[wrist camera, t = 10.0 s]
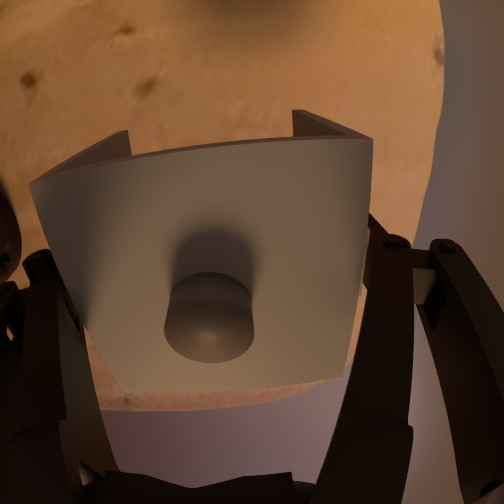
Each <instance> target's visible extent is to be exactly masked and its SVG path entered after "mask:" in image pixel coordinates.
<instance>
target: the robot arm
mask: <svg viewBox="0 0 504 504" xmlns="http://www.w3.org/2000/svg"><path fill="white" fill-rule="evenodd" d="M20 258H21V238H20V232H19V228H18V225H17V222H16V219H15V217H14V214H13V212H12V210H11V208H10V206H9V204H8V203H7V201H6V200H5V198H4V197H3V195H2V194H1V193H0V504H16V503H17V504H401V501H402V497H403V493H404V488H405V484H406V479H407V473H408V468H409V462H410V457H411V451H412V444H413V428H412V426H410V425H408V414H409V404H410V394H411V382H412V369H413V350H414V304H416V307H417V309H418V312H419V315H420V318H421V321H422V324H423V327H424V330H425V333H426V336H427V339H428V343H429V346H430V349H431V353H432V356H433V360H434V363H435V367H436V370H437V374H438V378H439V382H440V386H441V389H442V393H443V398H444V402H445V406H446V411H447V415H448V420H449V425H450V430H451V435H452V441H453V447H454V453H455V459H456V466H457V473H458V479H459V485H460V490H461V494H462V497H463V501H464V504H504V312H503V311H502V309H501V307H500V305H499V304H498V302H497V300H496V299H495V297H494V295H493V294H492V292H491V290H490V289H489V287H488V286H487V284H486V283H485V281H484V280H483V278H482V276H481V275H480V273H479V272H478V270H477V269H476V267H475V266H474V264H473V263H472V261H471V260H470V258H469V257H468V256H467V254H466V253H465V251H464V250H463V248H462V247H461V246H460V245H458V244H457V243H455V242H454V241H452V240H449V239H435V240H433V241H432V242H431V244H430V249H429V250H420V249H412V248H411V244H410V242H409V241H408V240H407V239H405V238H403V237H401V236H398V235H394V234H388V233H387V231H386V230H385V229H384V228H383V227H382V226H381V225H380V224H379V223H378V222H377V220H375V218H374V217H373V216H372V215H371V214H370V213H369V216H368V226H367V236H366V245H365V253H364V261H363V268H362V275H361V282H360V288H359V295H358V296H361V293H362V287H363V283H364V285H365V287H366V289H367V295H366V301H365V306H364V311H363V317H362V322H361V327H360V332H359V337H358V341H357V346H356V350H355V355H354V359H353V364H352V368H351V372H350V376H349V380H348V384H347V387H346V391H345V395H344V399H343V402H342V406H341V409H340V413H339V416H338V419H337V423H336V426H335V429H334V433H333V436H332V439H331V442H330V445H329V448H328V451H327V454H326V457H325V460H324V463H323V465H322V468H321V471H320V474H319V476H318V479H317V482H316V484H313V483H307V482H300V481H293V479H292V473H291V472H285V473H277V474H269V475H268V474H267V475H256V476H242V477H239V478H235V479H232V480H228V481H224V482H220V483H216V484H212V485H207V486H203V487H199V488H187V487H184V486H180V485H176V484H173V483H169V482H166V481H163V480H160V479H156V478H153V477H150V476H148V475H143V474H132V473H125V472H121V471H120V470H119V468H118V466H117V464H116V462H115V459H114V456H113V453H112V450H111V447H110V443H109V440H108V437H107V434H106V430H105V427H104V423H103V420H102V416H101V412H100V408H99V404H98V400H97V396H96V392H95V387H94V383H93V378H92V374H91V369H90V363H89V358H88V353H87V347H86V341H85V334H84V327H83V323H82V321H81V319H80V317H79V314H78V312H77V310H76V308H75V306H74V303H73V301H72V299H71V297H70V295H69V293H68V291H67V288H66V286H65V284H64V282H63V279H62V277H61V275H60V272H59V270H58V268H57V265H56V263H55V261H54V258H53V256H52V253H51V251H50V250H49V249H42V250H39V251H36V252H34V253H32V254H31V255H29V256H28V257H27V258H26V259H25V260H24V261H23V263H22V265H23V267H24V270H25V272H26V274H27V276H28V279H29V281H30V286H29V287H28V288H25V289H21V290H19V289H18V287H17V285H16V283H15V282H14V281H7V280H8V279H9V277H10V276H11V275H12V274H13V273H14V271H15V270H16V269H17V267H18V265H19V262H20ZM6 281H7V282H6ZM7 327H8V329H9V330H10V332H11V333H12V335H13V339H12V341H11V340H10V339H9V337H8V336H7Z"/></svg>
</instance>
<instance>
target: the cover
mask: <svg viewBox="0 0 504 504" xmlns="http://www.w3.org/2000/svg"><path fill="white" fill-rule="evenodd" d="M292 120H293V137H279V138H264V139H251V140H240V141H230V142H221V143H212V144H204V145H196V146H188V147H181V148H175V149H168V150H162V151H156V152H150V153H144V154H138V155H133V156H132V152H131V147H130V141H129V135H128V130H125V131H120V132H117V133H115V134H113V135H111V136H109V137H107V138H105V139H103V140H101V141H100V142H98V143H96V144H94V145H92V146H90V147H88V148H87V149H85V150H83V151H81V152H79V153H78V154H76V155H74V156H72V157H71V158H69V159H67V160H66V161H64V162H62V163H61V164H59V165H57V166H56V167H54V168H52V169H51V170H49V171H48V172H46V173H45V174H43V175H41V176H40V177H38V178H37V179H35V180H34V181H32V182H31V183H29V187H30V191H31V194H32V198H33V201H34V204H35V207H36V210H37V214H38V217H39V220H40V223H41V225H42V228H43V231H44V234H45V237H46V240H47V242H48V245H49V248H50V250H51V253H52V255H53V258H54V260H55V263H56V265H57V268H58V270H59V272H60V275H61V277H62V279H63V282H64V284H65V286H66V288H67V291H68V293H69V295H70V297H71V299H72V301H73V303H74V306H75V308H76V310H77V312H78V314H79V316H80V318H81V320H82V322H83V324H84V326H85V327H86V329H87V331H88V333H89V335H90V337H91V339H92V341H93V342H94V344H95V346H96V348H97V350H98V351H99V353H100V355H101V357H102V358H103V360H104V362H105V363H106V365H107V367H108V368H109V370H110V372H111V373H112V375H113V377H114V378H115V380H116V381H117V383H118V385H119V386H120V388H121V389H122V391H123V392H124V393H202V392H221V391H236V390H248V389H258V388H268V387H277V386H285V385H293V384H300V383H307V382H313V381H319V380H325V379H331V378H337V377H341V376H342V375H343V371H344V367H345V363H346V358H347V353H348V349H349V344H350V339H351V334H352V329H353V323H354V318H355V312H356V307H357V301H358V295H359V288H360V282H361V275H362V268H363V261H364V253H365V245H366V236H367V226H368V216H369V205H370V193H371V178H372V159H373V139H372V138H370V137H368V136H365V135H363V134H361V133H359V132H356V131H354V130H352V129H350V128H347V127H345V126H343V125H340V124H338V123H336V122H333V121H331V120H328V119H326V118H323V117H321V116H318V115H316V114H313V113H310V112H308V111H305V110H302V109H300V110H292Z"/></svg>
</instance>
